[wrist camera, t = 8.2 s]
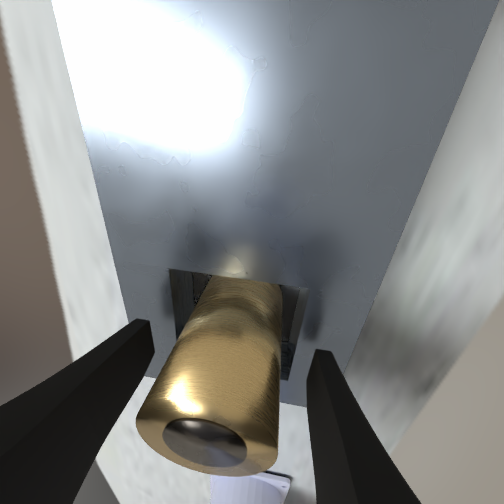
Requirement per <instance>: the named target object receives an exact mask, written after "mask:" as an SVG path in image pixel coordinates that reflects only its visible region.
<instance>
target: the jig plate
mask: <svg viewBox="0 0 504 504" xmlns="http://www.w3.org/2000/svg"><path fill="white" fill-rule="evenodd" d="M498 2H499V0H52V3H53V8H54V12H55V16H56V20H57V24H58V29H59V33H60V37H61V41H62V45H63V50H64V54H65V58H66V62H67V66H68V70H69V75H70V79H71V83H72V87H73V91H74V96H75V100H76V104H77V108H78V112H79V117H80V121H81V125H82V129H83V133H84V138H85V142H86V146H87V150H88V154H89V158H90V163H91V167H92V171H93V175H94V179H95V184H96V188H97V192H98V196H99V200H100V205H101V209H102V213H103V217H104V221H105V226H106V230H107V234H108V238H109V242H110V246H111V251H112V255H113V259H114V263H115V267H116V272H117V276H118V280H119V284H120V288H121V293H122V297H123V301H124V305H125V309H126V314H127V318H128V322H129V323H130V322H132V321H133V320H135V319H136V318H138V319H144V320H150V325H151V331H152V337H153V342H154V348H155V354H154V356H153V358H152V360H151V363H150V365H149V367H148V369H147V371H146V373H145V375H144V376H146V377H152V378H157V377H158V375H159V373H160V371H161V369H162V368H163V366H164V364H165V362H166V360H167V358H168V356H169V355H170V353H171V351H172V349H173V347H174V345H175V343H176V342H177V340H178V338H179V336H180V334H181V332H182V330H183V329H184V327H185V325H186V323H187V321H188V319H189V317H190V316H191V314H192V312H193V310H194V296H193V278H192V272H198V273H205V274H211V275H218V276H225V277H232V278H239V279H246V280H253V281H259V282H266V283H273V284H280V285H287V286H294V287H300V290H299V295H298V300H297V304H296V309H295V313H294V318H293V323H292V327H291V332H290V337H289V341H288V343H287V342H281V370H280V402H282V403H287V404H292V405H297V406H302V407H307V397H306V379H307V376H308V372H309V369H310V366H311V362H312V359H313V356H314V352H315V349H322V350H328V351H331V352H332V353H333V355H334V357H335V359H336V361H337V364H338V366H339V368H340V370H341V372H342V374H343V373H344V371H345V369H346V366H347V364H348V361H349V359H350V357H351V354H352V352H353V349H354V347H355V345H356V342H357V340H358V337H359V335H360V333H361V330H362V328H363V325H364V323H365V321H366V318H367V316H368V313H369V311H370V309H371V306H372V304H373V301H374V299H375V297H376V294H377V292H378V289H379V287H380V285H381V282H382V280H383V277H384V275H385V273H386V270H387V268H388V265H389V263H390V261H391V258H392V256H393V253H394V251H395V249H396V246H397V244H398V241H399V239H400V237H401V234H402V232H403V229H404V227H405V225H406V222H407V220H408V217H409V215H410V213H411V210H412V208H413V206H414V203H415V201H416V198H417V196H418V194H419V191H420V189H421V186H422V184H423V182H424V179H425V177H426V174H427V172H428V170H429V167H430V165H431V162H432V160H433V158H434V155H435V153H436V150H437V148H438V146H439V143H440V141H441V138H442V136H443V134H444V131H445V129H446V126H447V124H448V122H449V119H450V117H451V114H452V112H453V110H454V107H455V105H456V102H457V100H458V98H459V95H460V93H461V90H462V88H463V86H464V83H465V81H466V78H467V76H468V74H469V71H470V69H471V66H472V64H473V62H474V59H475V57H476V54H477V52H478V50H479V47H480V45H481V42H482V40H483V38H484V35H485V33H486V30H487V28H488V26H489V23H490V21H491V18H492V16H493V14H494V11H495V9H496V6H497V4H498Z"/></svg>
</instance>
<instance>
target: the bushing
mask: <svg viewBox="0 0 504 504" xmlns="http://www.w3.org/2000/svg"><path fill="white" fill-rule="evenodd" d="M282 305H283V297H282V291H281V289H280V286H279V285H278V284H273V283H266V282H259V281H253V280H246V279H239V278H232V277H225V276H218V275H213V276H212V277H211V279H210V280H209V282H208V284H207V286H206V288H205V290H204V292H203V293H202V295H201V297H200V299H199V301H198V303H197V305H196V306H195V308H194V310H193V312H192V314H191V316H190V317H189V319H188V321H187V323H186V325H185V327H184V329H183V330H182V332H181V334H180V336H179V338H178V340H177V342H176V343H175V345H174V347H173V349H172V351H171V353H170V355H169V356H168V358H167V360H166V362H165V364H164V366H163V368H162V369H161V371H160V373H159V375H158V377H157V379H156V381H155V382H154V384H153V386H152V388H151V390H150V392H149V393H148V395H147V397H146V399H145V401H144V403H143V405H142V406H141V408H140V410H139V412H138V414H137V417H136V427H137V430H138V432H139V434H140V436H141V437H142V439H143V440H144V441H145V442H146V443H147V444H148V445H149V446H150V447H151V448H152V449H153V450H155V451H156V452H157V453H159V454H160V455H162V456H163V457H165V458H167V459H169V460H170V461H172V462H174V463H177V464H179V465H181V466H184V467H186V468H189V469H192V470H195V471H198V472H202V473H206V474H211V475H217V476H227V477H243V476H251V475H255V474H259V473H261V472H264V471H266V470H267V469H269V468H270V467H271V466H273V464H274V463H275V462H276V459H277V456H278V434H279V402H280V370H281V337H282Z"/></svg>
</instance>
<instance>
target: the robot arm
mask: <svg viewBox="0 0 504 504" xmlns="http://www.w3.org/2000/svg"><path fill="white" fill-rule="evenodd" d="M154 354H155V348H154V342H153V337H152V331H151V325H150V320H144V319H138V318H136V319H135V320H133V321H132V322H130V323H129V324H128V325H126V326H125V327H123V328H122V329H121V330H119V331H118V332H116V333H115V334H114V335H112V336H111V337H109V338H108V339H107V340H105V341H104V342H102V343H101V344H99V345H98V346H97V347H95V348H94V349H92V350H91V351H89V352H88V353H86V354H85V355H84V356H82V357H81V358H79V359H78V360H76V361H74V362H73V363H72V364H70V365H68V366H67V367H65V368H64V369H62V370H61V371H59V372H58V373H56V374H54V375H53V376H51V377H50V378H48V379H46V380H45V381H43V382H42V383H40V384H38V385H36V386H35V387H33V388H31V389H30V390H28V391H26V392H24V393H23V394H21V395H19V396H18V397H16V398H14V399H12V400H10V401H9V402H7V403H5V404H3V405H1V406H0V504H73V501H74V499H75V497H76V495H77V493H78V491H79V489H80V487H81V485H82V483H83V481H84V479H85V477H86V475H87V473H88V471H89V469H90V467H91V466H92V463H93V462H94V460H95V458H96V456H97V454H98V452H99V450H100V448H101V446H102V444H103V443H104V441H105V439H106V438H107V436H108V434H109V432H110V431H111V429H112V427H113V426H114V424H115V423H116V421H117V419H118V418H119V416H120V414H121V413H122V411H123V410H124V408H125V406H126V405H127V403H128V402H129V400H130V398H131V397H132V395H133V393H134V392H135V390H136V389H137V387H138V385H139V384H140V382H141V380H142V379H143V377H144V375H145V373H146V371H147V369H148V367H149V365H150V363H151V360H152V358H153V356H154ZM306 397H307V414H308V423H309V432H310V441H311V449H312V458H313V466H314V475H315V486H316V500H317V504H421V502H420V501H419V500H418V498H417V497H416V495H415V494H414V493H413V491H412V490H411V488H410V487H409V485H408V484H407V482H406V481H405V479H404V478H403V476H402V475H401V473H400V472H399V470H398V469H397V467H396V466H395V464H394V463H393V461H392V460H391V458H390V457H389V455H388V453H387V452H386V450H385V449H384V447H383V445H382V444H381V442H380V440H379V439H378V437H377V436H376V434H375V432H374V431H373V429H372V427H371V426H370V424H369V422H368V420H367V419H366V417H365V415H364V413H363V412H362V410H361V408H360V406H359V404H358V403H357V401H356V399H355V397H354V395H353V393H352V392H351V390H350V388H349V386H348V384H347V382H346V380H345V378H344V376H343V374H342V372H341V370H340V368H339V366H338V364H337V361H336V359H335V357H334V355H333V353H332V352H331V351H328V350H322V349H315V352H314V356H313V359H312V362H311V366H310V369H309V372H308V376H307V379H306ZM210 483H211V499H210V504H283V503H284V501H285V498H286V496H287V493H288V490H289V488H290V479H288V478H286V477H281V476H277V475H272V474H268V473H263V472H261V473H259V474H255V475H251V476H243V477H227V476H217V475H211V474H210Z"/></svg>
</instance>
